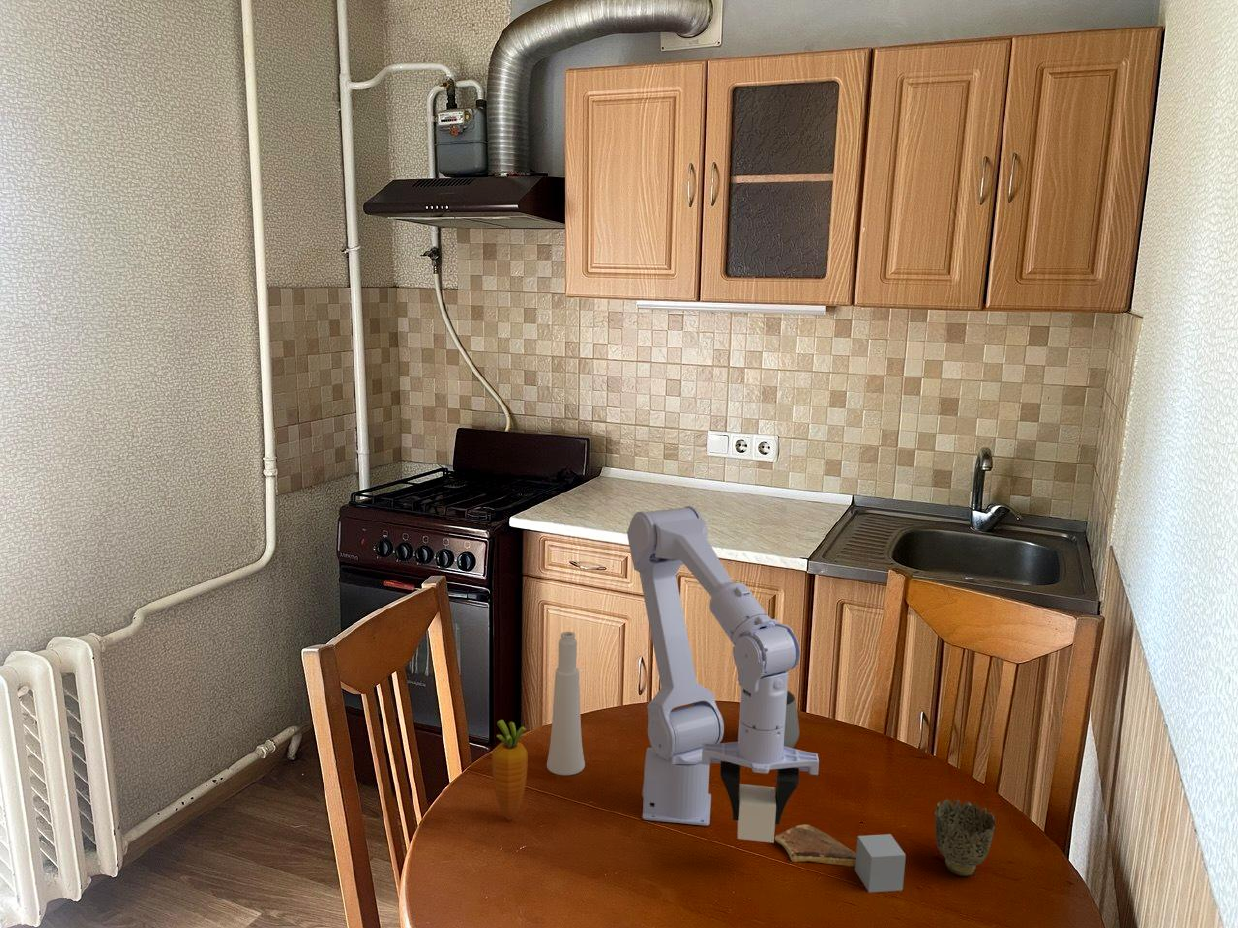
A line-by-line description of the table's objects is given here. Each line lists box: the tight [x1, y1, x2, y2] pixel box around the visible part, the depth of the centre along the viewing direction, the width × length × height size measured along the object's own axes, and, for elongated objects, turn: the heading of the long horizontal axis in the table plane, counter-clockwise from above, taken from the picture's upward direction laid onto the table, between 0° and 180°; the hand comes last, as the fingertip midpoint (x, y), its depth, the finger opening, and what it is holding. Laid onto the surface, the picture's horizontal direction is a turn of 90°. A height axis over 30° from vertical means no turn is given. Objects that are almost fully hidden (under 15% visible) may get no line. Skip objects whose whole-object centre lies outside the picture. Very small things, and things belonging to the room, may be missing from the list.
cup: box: [784, 690, 800, 749], centre depth 146 cm, size 10×9×10 cm
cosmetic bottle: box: [546, 631, 586, 776], centre depth 140 cm, size 6×6×22 cm
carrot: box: [491, 719, 529, 822], centre depth 125 cm, size 5×5×15 cm
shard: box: [774, 824, 856, 867], centre depth 120 cm, size 11×8×2 cm
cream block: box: [737, 783, 776, 843], centre depth 115 cm, size 4×4×5 cm
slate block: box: [854, 833, 907, 893], centre depth 115 cm, size 4×4×5 cm
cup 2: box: [934, 798, 996, 877], centre depth 117 cm, size 8×7×8 cm
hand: (756, 817), depth 115 cm, fingers closed on cream block, 4 cm apart
